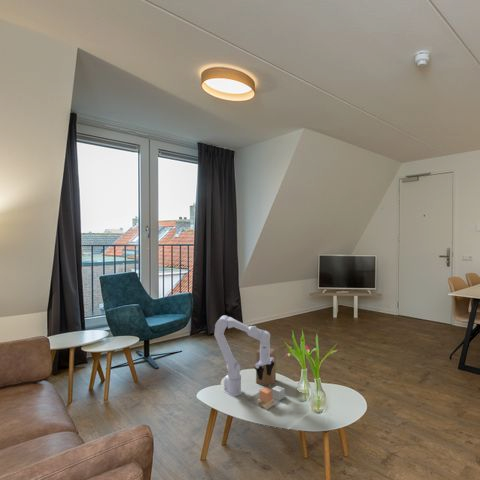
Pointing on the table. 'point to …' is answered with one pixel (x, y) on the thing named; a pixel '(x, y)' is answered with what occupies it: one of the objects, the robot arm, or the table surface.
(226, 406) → the table surface
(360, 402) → the table surface
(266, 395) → the terracotta cube
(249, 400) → the grey square mat
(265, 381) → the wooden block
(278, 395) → the blue-grey cube
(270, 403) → the maple block
